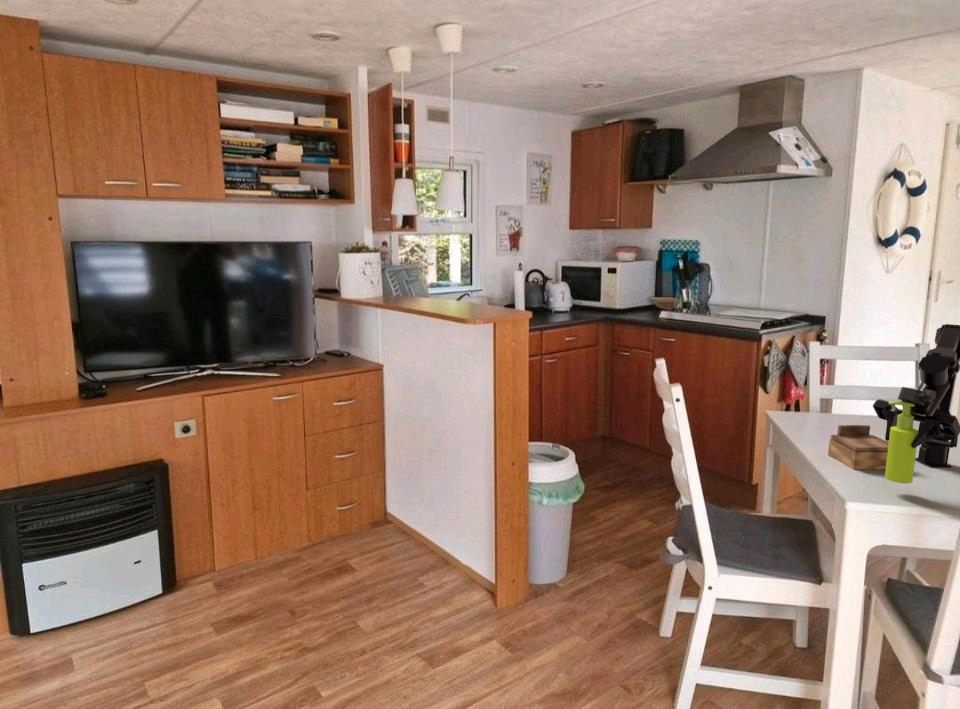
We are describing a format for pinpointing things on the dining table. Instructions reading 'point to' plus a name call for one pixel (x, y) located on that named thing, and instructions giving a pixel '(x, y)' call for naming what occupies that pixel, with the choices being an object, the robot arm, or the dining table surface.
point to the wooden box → (857, 456)
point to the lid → (859, 438)
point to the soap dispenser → (901, 446)
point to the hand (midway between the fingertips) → (899, 443)
